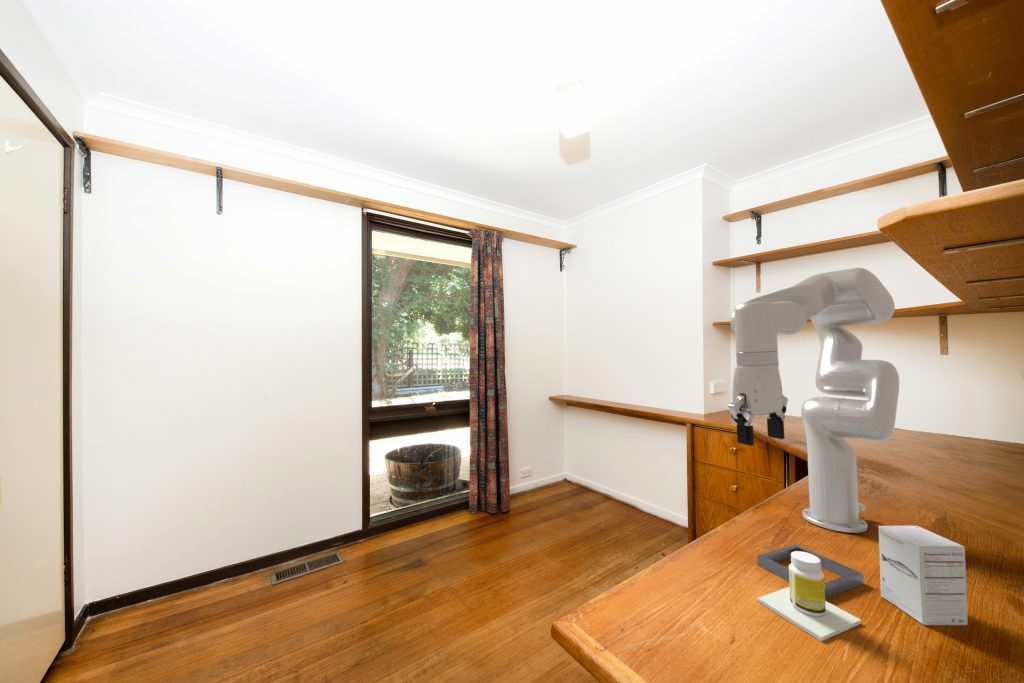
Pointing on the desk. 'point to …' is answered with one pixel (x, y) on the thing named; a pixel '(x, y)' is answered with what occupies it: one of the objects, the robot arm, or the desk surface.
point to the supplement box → (923, 575)
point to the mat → (814, 625)
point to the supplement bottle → (807, 584)
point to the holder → (831, 587)
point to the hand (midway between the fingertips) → (761, 440)
